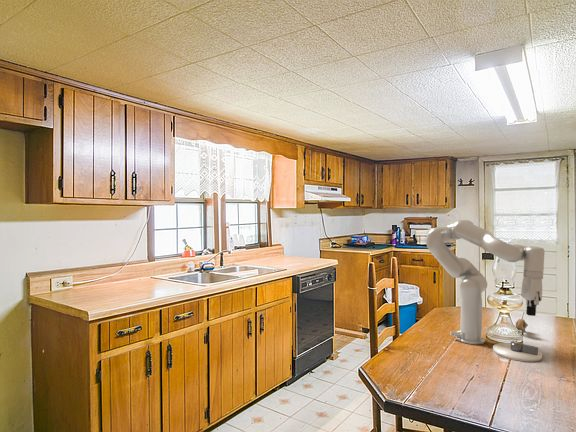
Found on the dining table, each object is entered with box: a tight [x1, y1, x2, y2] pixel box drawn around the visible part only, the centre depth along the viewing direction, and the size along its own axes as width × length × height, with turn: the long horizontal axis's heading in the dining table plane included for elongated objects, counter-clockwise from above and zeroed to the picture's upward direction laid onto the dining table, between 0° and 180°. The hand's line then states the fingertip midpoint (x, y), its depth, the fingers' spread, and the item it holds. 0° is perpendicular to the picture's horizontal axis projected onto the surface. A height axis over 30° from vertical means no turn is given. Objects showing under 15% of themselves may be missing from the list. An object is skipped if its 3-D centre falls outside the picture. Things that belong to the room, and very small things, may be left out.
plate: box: [492, 342, 543, 363], centre depth 178 cm, size 19×19×2 cm
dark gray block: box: [510, 340, 539, 355], centre depth 176 cm, size 10×5×3 cm, turn 45°
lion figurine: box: [515, 318, 529, 337], centre depth 208 cm, size 15×5×9 cm, turn 153°
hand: (530, 315), depth 178 cm, fingers closed
